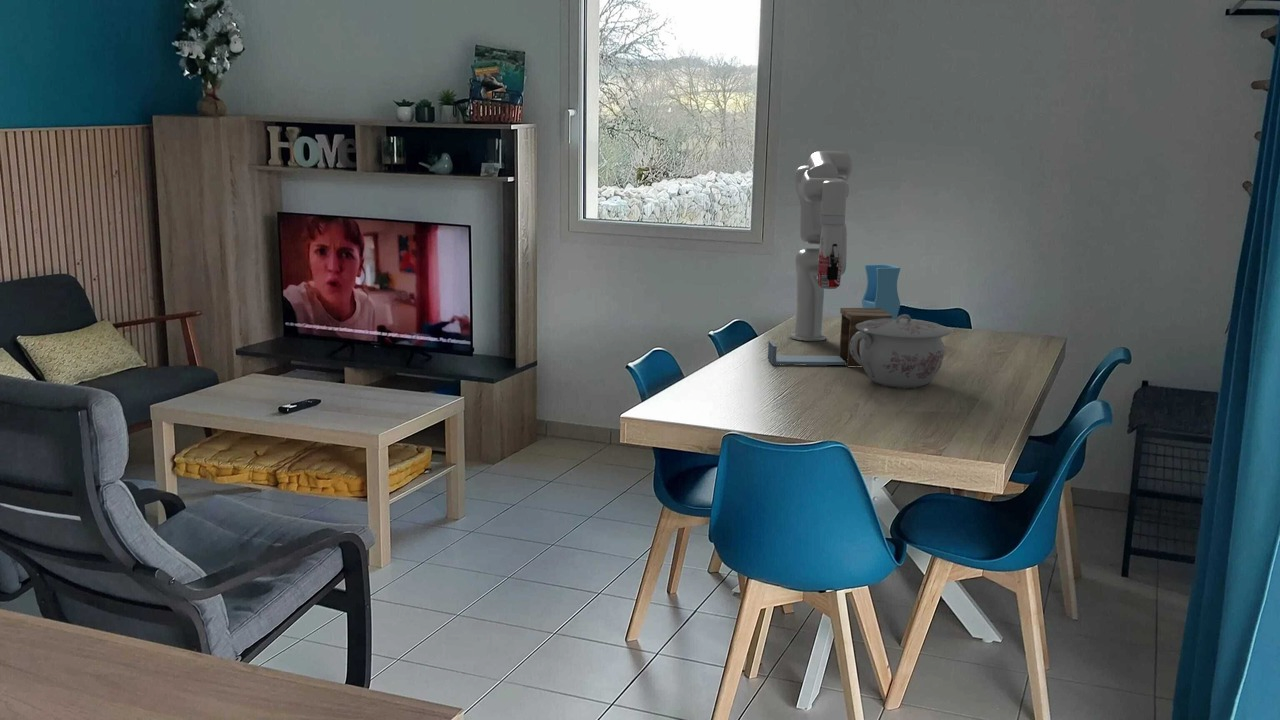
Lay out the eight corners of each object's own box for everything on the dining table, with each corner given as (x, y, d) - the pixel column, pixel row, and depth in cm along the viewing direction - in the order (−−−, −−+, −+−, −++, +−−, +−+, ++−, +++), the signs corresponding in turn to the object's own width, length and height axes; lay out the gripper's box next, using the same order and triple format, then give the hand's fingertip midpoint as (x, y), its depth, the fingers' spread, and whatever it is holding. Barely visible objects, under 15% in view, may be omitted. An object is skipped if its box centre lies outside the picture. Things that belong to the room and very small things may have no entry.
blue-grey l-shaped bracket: (767, 359, 366) (768, 340, 365) (838, 359, 368) (839, 341, 366) (772, 365, 357) (773, 346, 356) (845, 365, 359) (846, 346, 358)
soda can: (839, 286, 361) (841, 248, 359) (840, 289, 354) (842, 251, 352) (816, 285, 362) (818, 247, 359) (817, 289, 355) (819, 250, 352)
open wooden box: (837, 358, 370) (840, 307, 367) (877, 358, 371) (880, 308, 367) (847, 367, 356) (851, 315, 353) (888, 368, 357) (892, 315, 354)
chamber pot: (947, 376, 347) (953, 309, 343) (946, 397, 321) (952, 325, 317) (854, 369, 354) (858, 303, 350) (845, 389, 328) (849, 318, 324)
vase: (859, 333, 414) (864, 264, 409) (884, 332, 417) (888, 264, 411) (873, 338, 405) (877, 268, 399) (897, 337, 408) (902, 267, 402)
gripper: (814, 218, 362) (811, 273, 366) (826, 223, 345) (823, 282, 349) (838, 218, 362) (834, 274, 366) (851, 223, 345) (847, 282, 349)
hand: (829, 277), depth 357 cm, fingers closed on soda can, 6 cm apart
